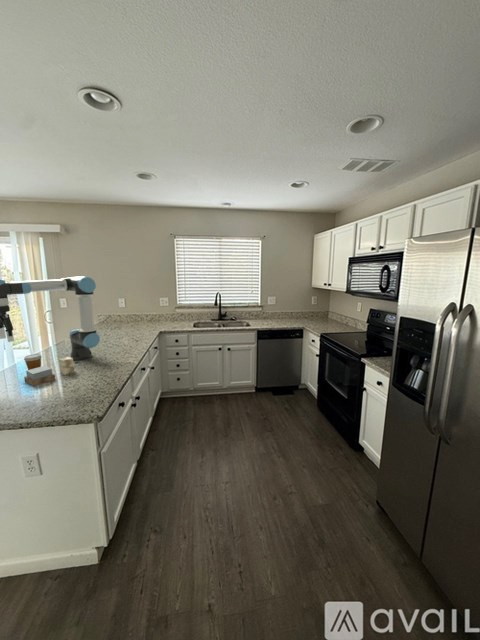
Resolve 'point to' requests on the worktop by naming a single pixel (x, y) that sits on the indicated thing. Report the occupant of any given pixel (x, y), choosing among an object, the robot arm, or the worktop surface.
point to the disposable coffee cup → (33, 361)
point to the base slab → (39, 380)
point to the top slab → (39, 372)
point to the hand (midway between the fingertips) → (7, 339)
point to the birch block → (66, 365)
